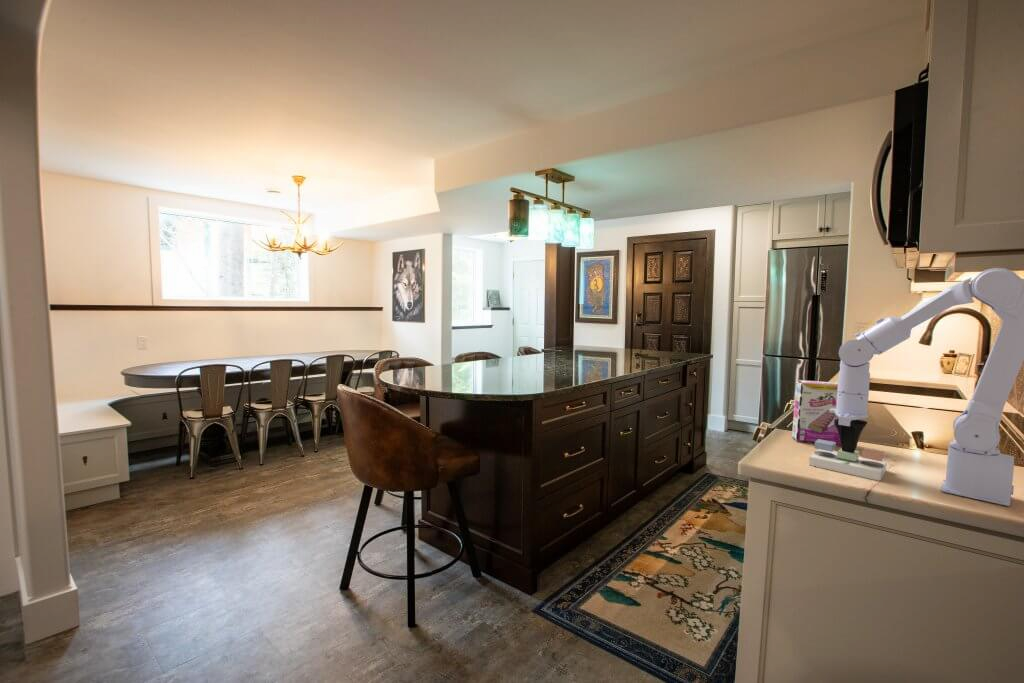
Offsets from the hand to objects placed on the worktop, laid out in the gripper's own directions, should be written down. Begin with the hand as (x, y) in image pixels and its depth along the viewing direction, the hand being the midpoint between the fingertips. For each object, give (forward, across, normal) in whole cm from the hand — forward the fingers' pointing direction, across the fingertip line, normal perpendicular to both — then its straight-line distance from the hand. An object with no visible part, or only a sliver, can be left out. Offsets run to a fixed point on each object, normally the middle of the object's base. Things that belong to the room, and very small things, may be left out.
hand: (848, 451), depth 107 cm
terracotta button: (0, 0, +5) cm, 5 cm away
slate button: (0, 0, -5) cm, 5 cm away
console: (+4, 0, 0) cm, 4 cm away
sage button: (+1, 0, 0) cm, 1 cm away
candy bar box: (+4, -19, -10) cm, 22 cm away
